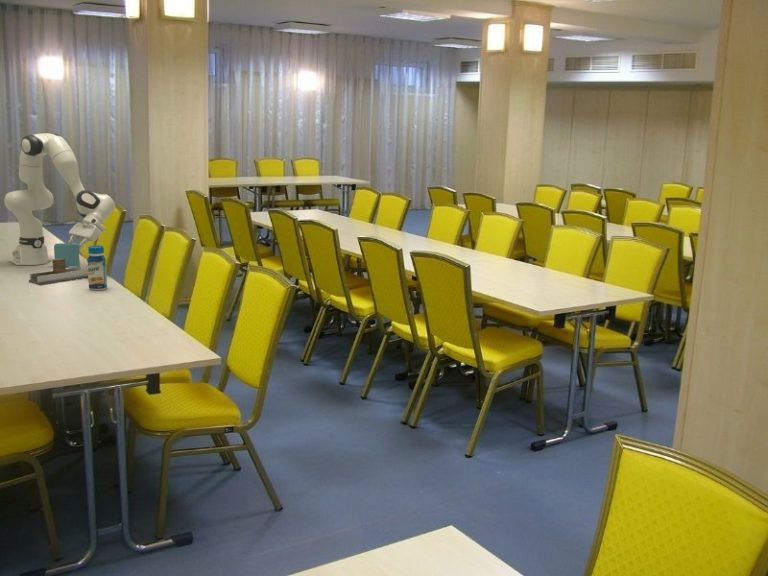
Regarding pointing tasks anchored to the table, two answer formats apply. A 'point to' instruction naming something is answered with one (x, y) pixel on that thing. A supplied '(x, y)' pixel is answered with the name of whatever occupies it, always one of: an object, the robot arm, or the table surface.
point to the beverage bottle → (97, 268)
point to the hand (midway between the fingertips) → (75, 244)
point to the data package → (67, 253)
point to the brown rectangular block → (59, 266)
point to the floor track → (58, 276)
